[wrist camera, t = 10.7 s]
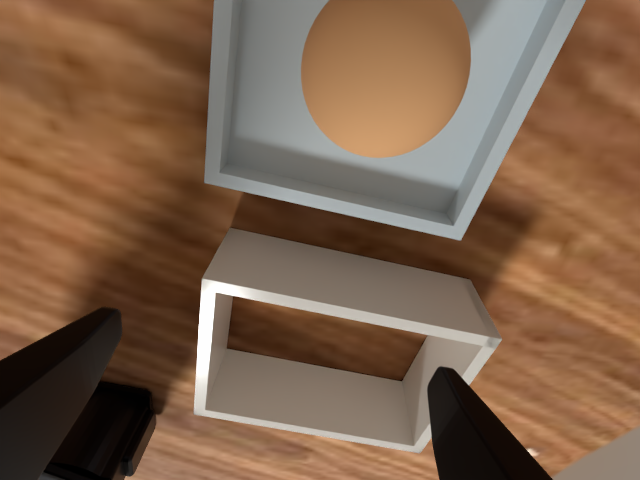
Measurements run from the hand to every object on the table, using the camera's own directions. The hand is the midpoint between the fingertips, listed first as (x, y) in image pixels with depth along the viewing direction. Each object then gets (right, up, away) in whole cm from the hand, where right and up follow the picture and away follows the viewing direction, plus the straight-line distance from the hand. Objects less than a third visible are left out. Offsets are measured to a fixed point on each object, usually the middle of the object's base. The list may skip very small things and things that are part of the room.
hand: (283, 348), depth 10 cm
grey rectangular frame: (+2, -3, +15) cm, 15 cm away
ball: (+3, +9, +3) cm, 10 cm away
